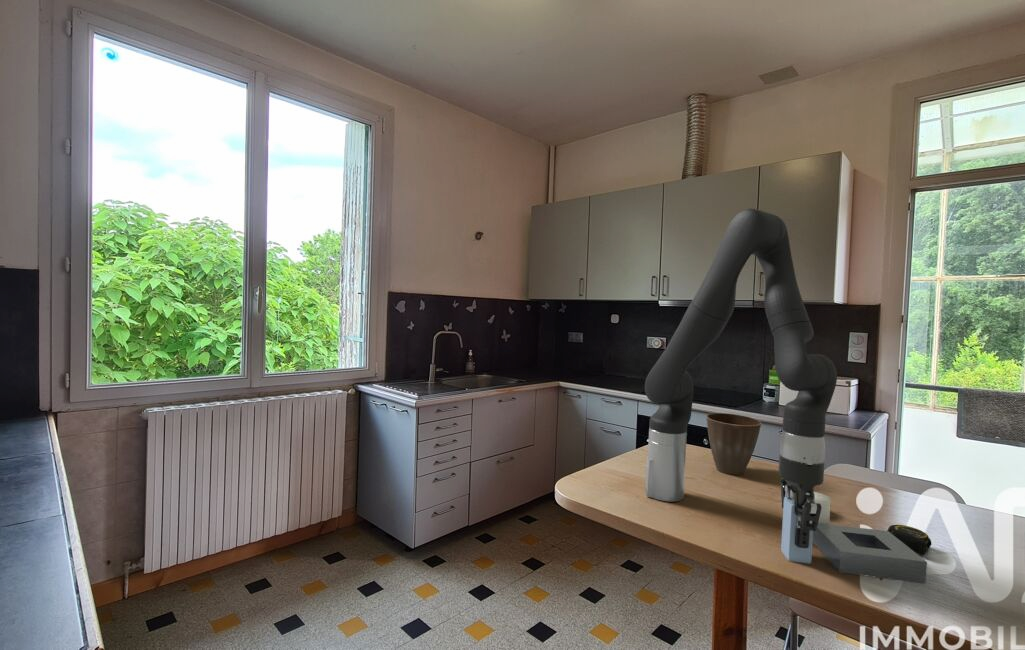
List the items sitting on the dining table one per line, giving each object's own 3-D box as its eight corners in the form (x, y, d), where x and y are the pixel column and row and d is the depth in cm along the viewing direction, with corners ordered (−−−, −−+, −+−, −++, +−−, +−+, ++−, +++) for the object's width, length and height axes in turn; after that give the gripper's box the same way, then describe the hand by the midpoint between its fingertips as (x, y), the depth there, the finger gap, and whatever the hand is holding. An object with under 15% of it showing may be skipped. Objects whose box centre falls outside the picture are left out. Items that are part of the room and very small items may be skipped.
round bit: (802, 536, 101) (804, 499, 101) (792, 523, 107) (794, 489, 107) (833, 539, 100) (835, 503, 100) (821, 527, 106) (823, 492, 106)
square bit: (788, 560, 91) (791, 505, 91) (781, 550, 95) (784, 497, 95) (811, 563, 90) (814, 507, 90) (802, 553, 94) (805, 499, 94)
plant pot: (764, 471, 142) (766, 419, 142) (750, 484, 131) (753, 428, 130) (713, 459, 152) (715, 410, 151) (696, 470, 141) (699, 418, 140)
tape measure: (881, 545, 99) (883, 528, 99) (893, 537, 103) (895, 520, 102) (923, 560, 93) (924, 542, 93) (934, 551, 97) (935, 533, 97)
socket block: (839, 572, 87) (840, 551, 87) (811, 541, 99) (812, 522, 99) (925, 583, 85) (927, 561, 85) (886, 550, 96) (888, 531, 96)
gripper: (768, 443, 99) (764, 522, 100) (795, 465, 86) (789, 557, 86) (807, 446, 98) (802, 526, 99) (840, 469, 84) (835, 562, 85)
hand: (796, 540), depth 92 cm, fingers open, 4 cm apart
